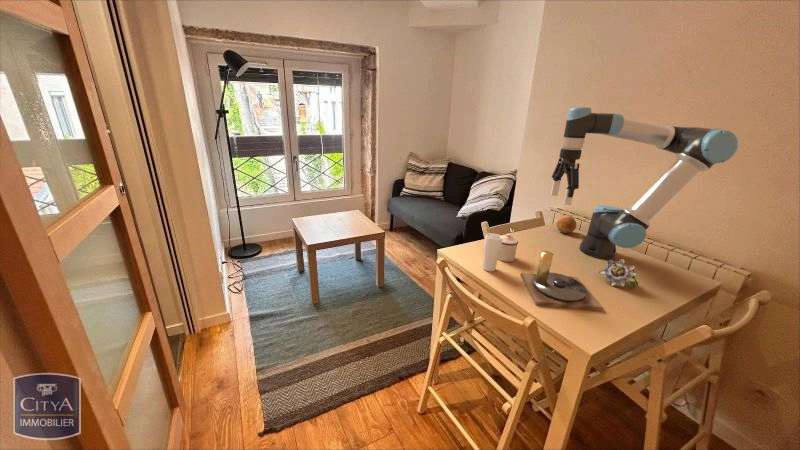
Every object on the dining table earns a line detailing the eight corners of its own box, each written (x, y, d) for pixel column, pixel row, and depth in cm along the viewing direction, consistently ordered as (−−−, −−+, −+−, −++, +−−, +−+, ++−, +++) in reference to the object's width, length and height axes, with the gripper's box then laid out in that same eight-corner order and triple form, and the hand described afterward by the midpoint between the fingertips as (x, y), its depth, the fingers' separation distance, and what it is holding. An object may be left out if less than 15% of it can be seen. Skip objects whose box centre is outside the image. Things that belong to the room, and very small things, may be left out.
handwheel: (529, 272, 126) (535, 242, 122) (577, 279, 123) (585, 248, 118) (537, 297, 110) (545, 263, 105) (593, 305, 107) (603, 271, 102)
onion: (552, 228, 180) (555, 212, 176) (570, 230, 179) (574, 213, 175) (558, 235, 171) (562, 218, 167) (577, 236, 170) (581, 219, 166)
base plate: (576, 280, 126) (577, 277, 125) (601, 310, 107) (602, 307, 106) (520, 275, 127) (521, 272, 127) (535, 305, 109) (536, 301, 108)
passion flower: (609, 297, 125) (595, 272, 124) (612, 281, 132) (599, 258, 131) (642, 293, 117) (628, 266, 116) (643, 277, 124) (630, 251, 123)
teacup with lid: (518, 258, 142) (523, 235, 138) (507, 264, 136) (512, 240, 132) (496, 249, 150) (499, 226, 146) (484, 254, 145) (488, 231, 141)
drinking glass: (488, 274, 128) (493, 240, 122) (477, 266, 133) (481, 234, 128) (500, 270, 131) (506, 238, 125) (489, 263, 136) (494, 232, 131)
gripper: (597, 153, 112) (583, 209, 120) (567, 145, 136) (557, 192, 143) (576, 152, 113) (563, 208, 120) (550, 144, 136) (540, 191, 144)
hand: (560, 199), depth 132 cm, fingers open, 13 cm apart
